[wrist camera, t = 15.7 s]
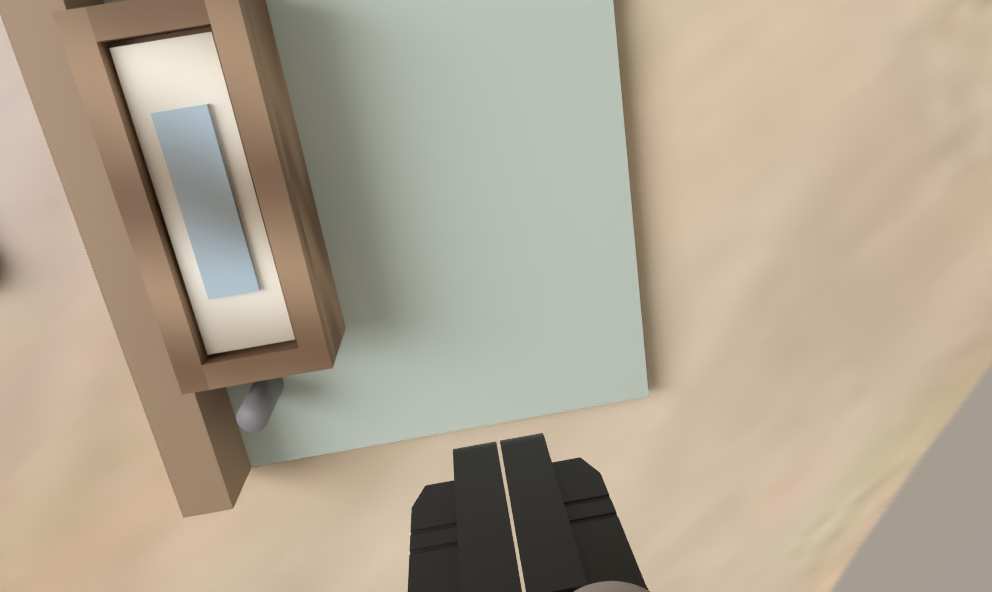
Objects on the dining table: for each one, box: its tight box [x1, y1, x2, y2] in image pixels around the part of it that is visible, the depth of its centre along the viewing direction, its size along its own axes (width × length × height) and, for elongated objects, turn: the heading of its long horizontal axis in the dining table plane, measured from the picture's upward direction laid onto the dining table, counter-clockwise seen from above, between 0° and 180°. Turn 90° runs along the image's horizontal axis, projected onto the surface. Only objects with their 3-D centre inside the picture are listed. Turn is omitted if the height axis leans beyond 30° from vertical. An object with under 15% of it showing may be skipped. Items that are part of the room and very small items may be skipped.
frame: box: [52, 0, 346, 395], centre depth 25 cm, size 13×6×4 cm, turn 9°
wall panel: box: [0, 0, 649, 518], centre depth 26 cm, size 24×20×4 cm
